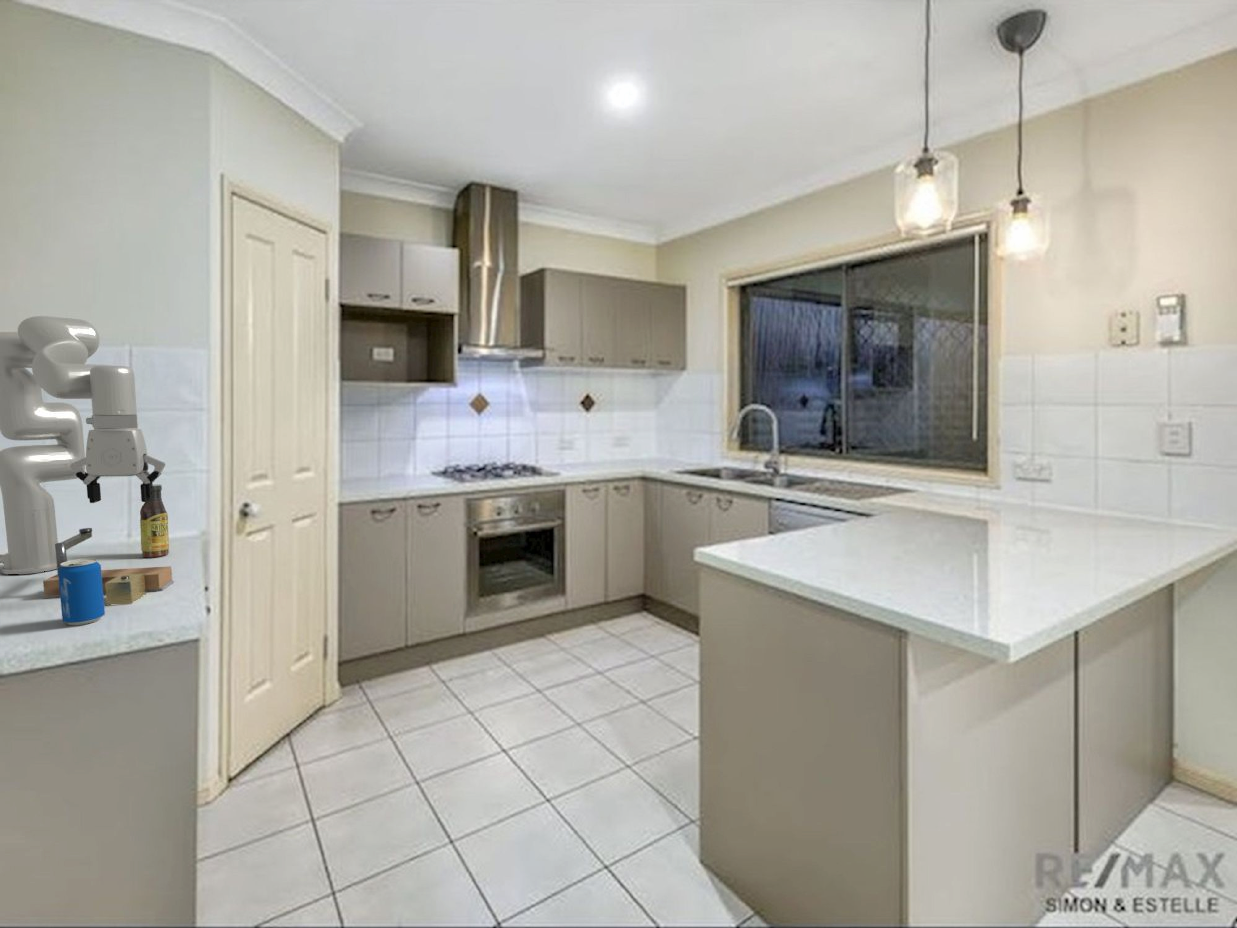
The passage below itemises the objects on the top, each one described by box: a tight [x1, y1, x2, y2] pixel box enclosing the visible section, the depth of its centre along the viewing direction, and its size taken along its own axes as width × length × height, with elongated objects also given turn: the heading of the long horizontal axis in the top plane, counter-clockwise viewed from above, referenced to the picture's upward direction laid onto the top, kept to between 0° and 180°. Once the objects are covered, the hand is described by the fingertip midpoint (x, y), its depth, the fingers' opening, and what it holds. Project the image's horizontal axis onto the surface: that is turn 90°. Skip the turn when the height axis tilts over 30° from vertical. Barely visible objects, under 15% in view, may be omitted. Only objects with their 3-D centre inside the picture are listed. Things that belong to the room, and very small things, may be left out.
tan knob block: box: [105, 574, 147, 606], centre depth 140 cm, size 5×6×5 cm
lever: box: [55, 527, 93, 574], centre depth 150 cm, size 16×2×8 cm, turn 21°
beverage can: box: [57, 557, 106, 626], centre depth 126 cm, size 6×6×12 cm
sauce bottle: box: [139, 483, 170, 559], centre depth 177 cm, size 7×6×20 cm
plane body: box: [42, 565, 175, 599], centre depth 147 cm, size 23×7×4 cm, turn 105°
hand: (121, 501), depth 140 cm, fingers open, 9 cm apart
